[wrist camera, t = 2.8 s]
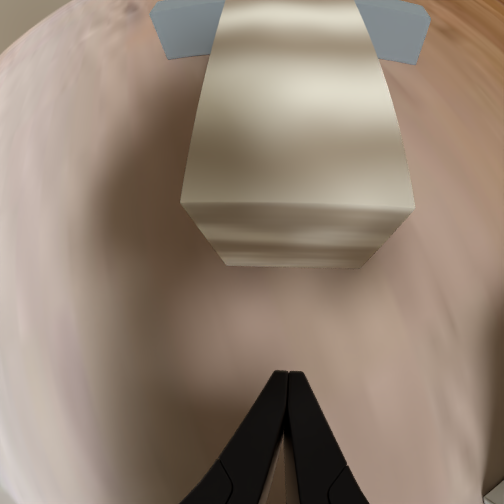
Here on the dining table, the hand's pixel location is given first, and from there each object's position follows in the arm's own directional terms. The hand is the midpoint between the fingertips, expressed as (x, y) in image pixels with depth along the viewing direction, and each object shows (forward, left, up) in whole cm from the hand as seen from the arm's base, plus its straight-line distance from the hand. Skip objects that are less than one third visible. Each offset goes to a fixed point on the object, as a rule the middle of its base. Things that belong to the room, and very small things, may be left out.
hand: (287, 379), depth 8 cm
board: (+23, -13, -9) cm, 28 cm away
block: (+12, -7, -9) cm, 16 cm away
